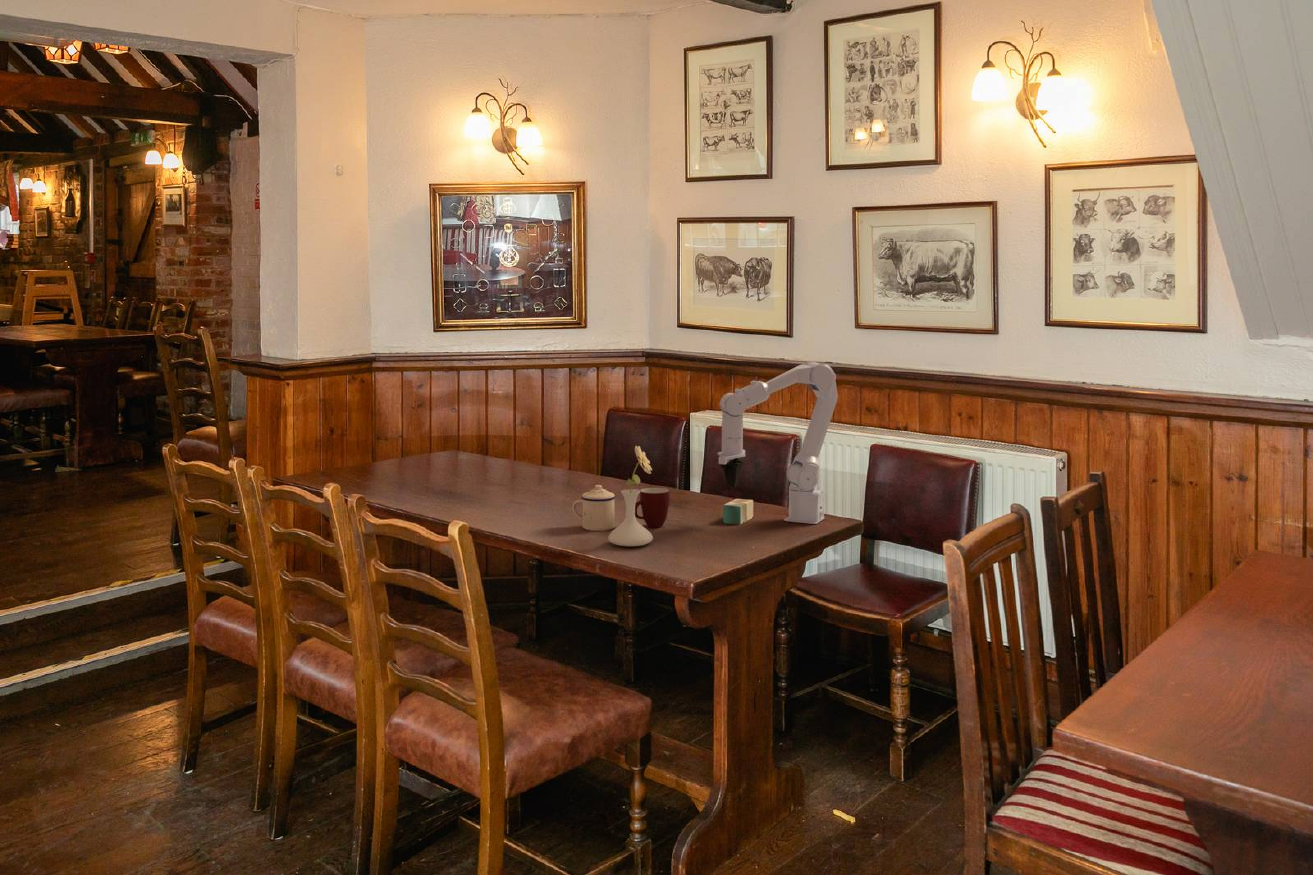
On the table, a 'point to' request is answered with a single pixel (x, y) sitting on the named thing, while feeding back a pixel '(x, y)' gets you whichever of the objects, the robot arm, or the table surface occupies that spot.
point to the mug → (653, 506)
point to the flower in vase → (632, 512)
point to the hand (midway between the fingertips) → (731, 486)
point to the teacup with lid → (597, 509)
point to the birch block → (738, 511)
